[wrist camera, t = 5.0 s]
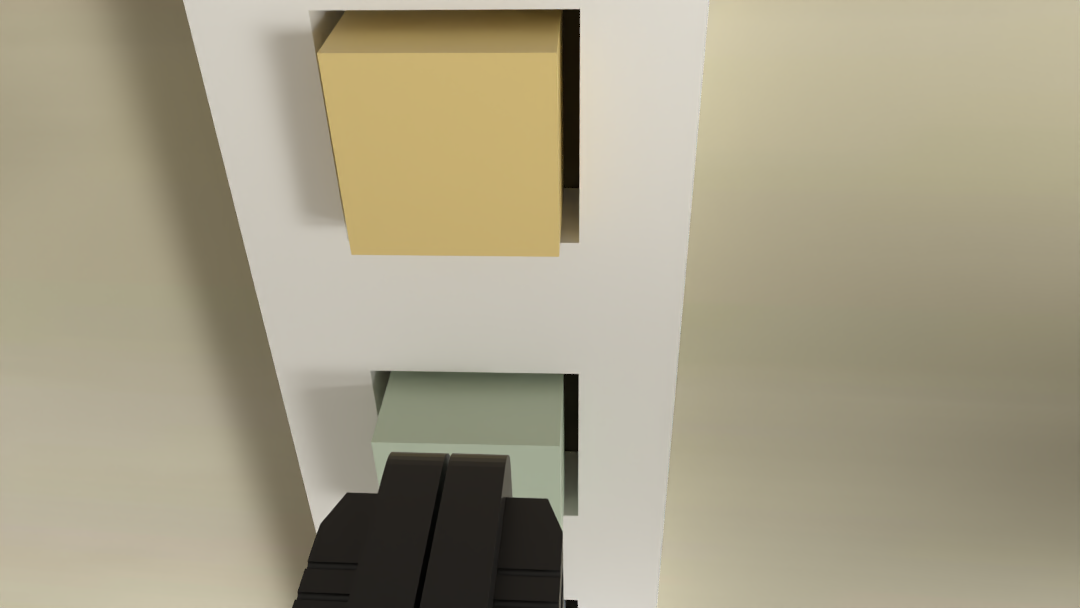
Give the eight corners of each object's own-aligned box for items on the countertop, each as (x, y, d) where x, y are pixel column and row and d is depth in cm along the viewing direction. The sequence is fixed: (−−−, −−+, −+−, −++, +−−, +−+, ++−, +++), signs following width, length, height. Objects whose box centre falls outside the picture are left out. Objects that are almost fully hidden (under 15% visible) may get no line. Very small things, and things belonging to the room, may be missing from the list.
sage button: (563, 362, 24) (559, 445, 21) (564, 481, 26) (561, 567, 24) (394, 360, 24) (370, 442, 21) (411, 478, 26) (393, 563, 24)
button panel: (706, -158, 18) (725, -123, 15) (638, 728, 37) (641, 811, 34) (200, -151, 18) (135, -116, 16) (390, 719, 37) (374, 800, 35)
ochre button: (561, -1, 19) (556, 52, 17) (563, 187, 22) (559, 257, 19) (352, 0, 19) (316, 53, 17) (378, 186, 22) (351, 254, 19)
